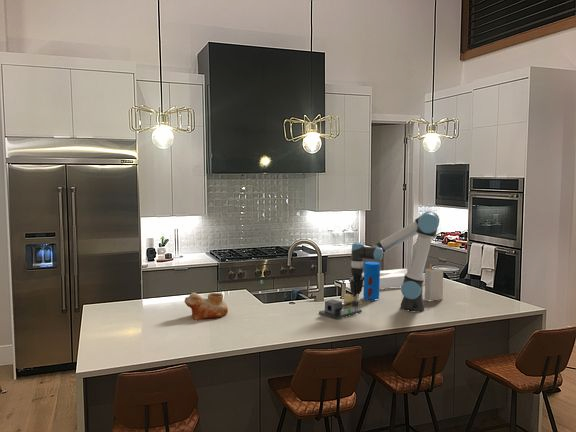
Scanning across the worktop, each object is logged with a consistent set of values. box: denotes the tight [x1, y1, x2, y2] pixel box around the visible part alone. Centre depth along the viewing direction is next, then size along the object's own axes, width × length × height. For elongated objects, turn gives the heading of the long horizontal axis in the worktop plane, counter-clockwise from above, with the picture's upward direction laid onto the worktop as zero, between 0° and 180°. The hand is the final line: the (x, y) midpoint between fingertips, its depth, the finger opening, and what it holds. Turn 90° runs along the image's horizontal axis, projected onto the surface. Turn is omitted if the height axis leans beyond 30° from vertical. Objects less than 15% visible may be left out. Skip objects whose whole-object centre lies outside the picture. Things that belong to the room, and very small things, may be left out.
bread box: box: [362, 268, 425, 289], centre depth 407 cm, size 45×22×10 cm, turn 114°
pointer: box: [352, 300, 359, 310], centre depth 327 cm, size 3×2×5 cm, turn 42°
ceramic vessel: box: [184, 292, 229, 321], centre depth 317 cm, size 14×26×15 cm, turn 111°
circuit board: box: [318, 298, 363, 320], centre depth 328 cm, size 15×23×8 cm, turn 132°
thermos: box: [362, 261, 381, 301], centre depth 363 cm, size 11×11×25 cm
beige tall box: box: [423, 263, 444, 301], centre depth 364 cm, size 8×12×26 cm
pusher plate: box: [342, 293, 363, 308], centre depth 328 cm, size 12×16×8 cm
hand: (355, 303), depth 338 cm, fingers closed
